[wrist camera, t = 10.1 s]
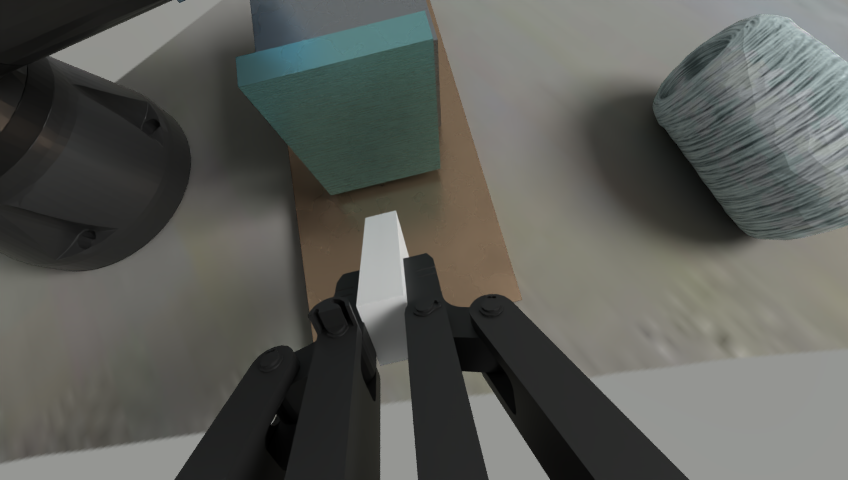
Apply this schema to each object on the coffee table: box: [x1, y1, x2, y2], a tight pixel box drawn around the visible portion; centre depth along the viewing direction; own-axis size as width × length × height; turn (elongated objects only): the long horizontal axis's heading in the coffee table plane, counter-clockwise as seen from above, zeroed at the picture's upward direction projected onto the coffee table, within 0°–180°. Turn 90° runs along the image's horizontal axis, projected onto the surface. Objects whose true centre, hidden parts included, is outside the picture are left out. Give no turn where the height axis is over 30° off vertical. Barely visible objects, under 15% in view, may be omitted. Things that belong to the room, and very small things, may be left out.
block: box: [236, 10, 441, 195], centre depth 21 cm, size 14×8×11 cm, turn 13°
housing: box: [250, 0, 522, 342], centre depth 23 cm, size 27×14×9 cm, turn 13°
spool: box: [652, 14, 848, 240], centre depth 21 cm, size 14×10×10 cm
